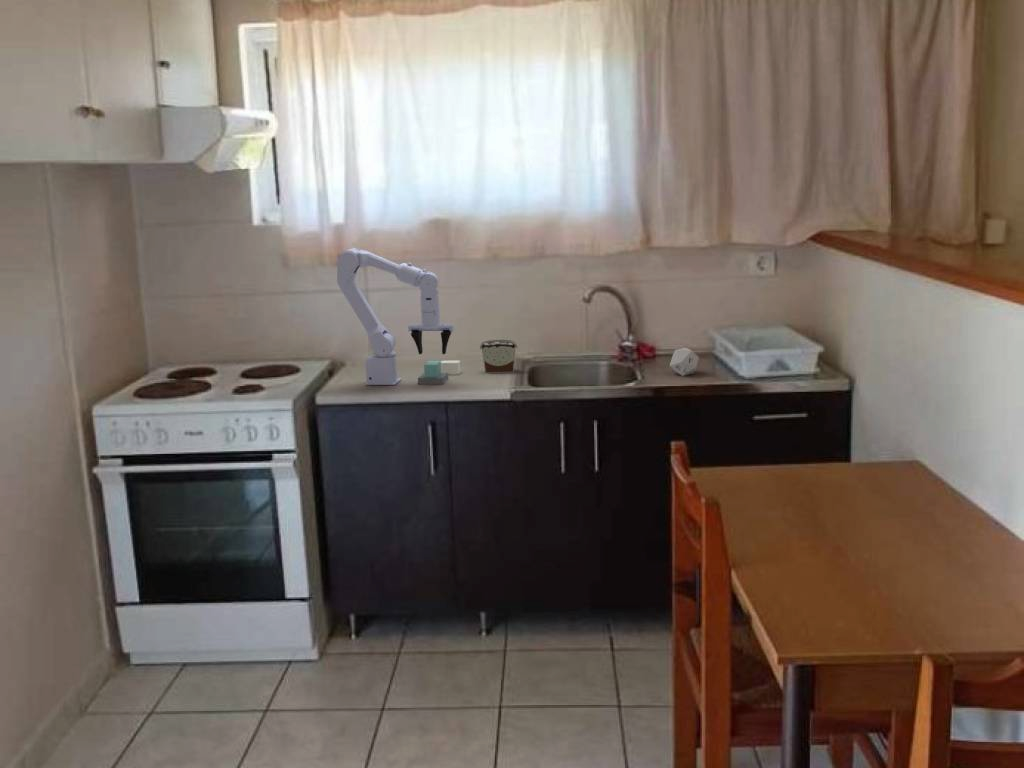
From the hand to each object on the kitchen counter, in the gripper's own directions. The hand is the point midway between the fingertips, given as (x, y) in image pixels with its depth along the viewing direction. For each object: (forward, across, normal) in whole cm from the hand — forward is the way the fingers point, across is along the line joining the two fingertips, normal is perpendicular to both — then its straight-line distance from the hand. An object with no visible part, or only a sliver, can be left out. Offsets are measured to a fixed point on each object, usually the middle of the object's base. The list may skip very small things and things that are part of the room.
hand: (432, 353), depth 323 cm
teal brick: (+7, 0, 0) cm, 7 cm away
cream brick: (+9, +3, +12) cm, 15 cm away
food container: (+9, +19, +16) cm, 26 cm away
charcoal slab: (+10, 0, 0) cm, 10 cm away
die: (+9, +79, +12) cm, 80 cm away
